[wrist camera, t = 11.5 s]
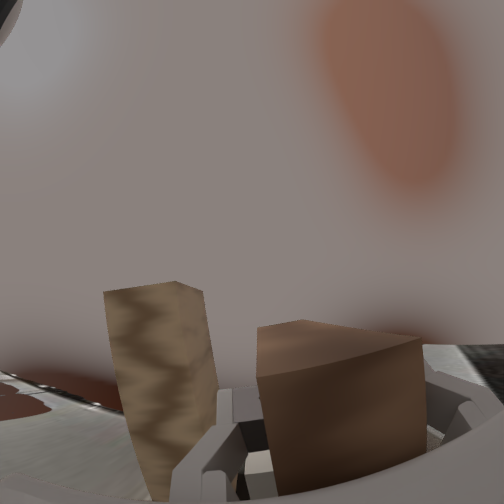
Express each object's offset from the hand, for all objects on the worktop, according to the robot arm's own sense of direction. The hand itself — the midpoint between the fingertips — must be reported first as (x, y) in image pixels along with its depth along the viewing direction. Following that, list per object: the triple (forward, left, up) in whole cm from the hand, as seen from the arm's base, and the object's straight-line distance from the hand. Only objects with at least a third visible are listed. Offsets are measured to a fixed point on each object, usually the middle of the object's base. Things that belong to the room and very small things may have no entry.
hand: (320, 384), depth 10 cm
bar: (0, +6, -2) cm, 7 cm away
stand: (-12, +21, -20) cm, 31 cm away
